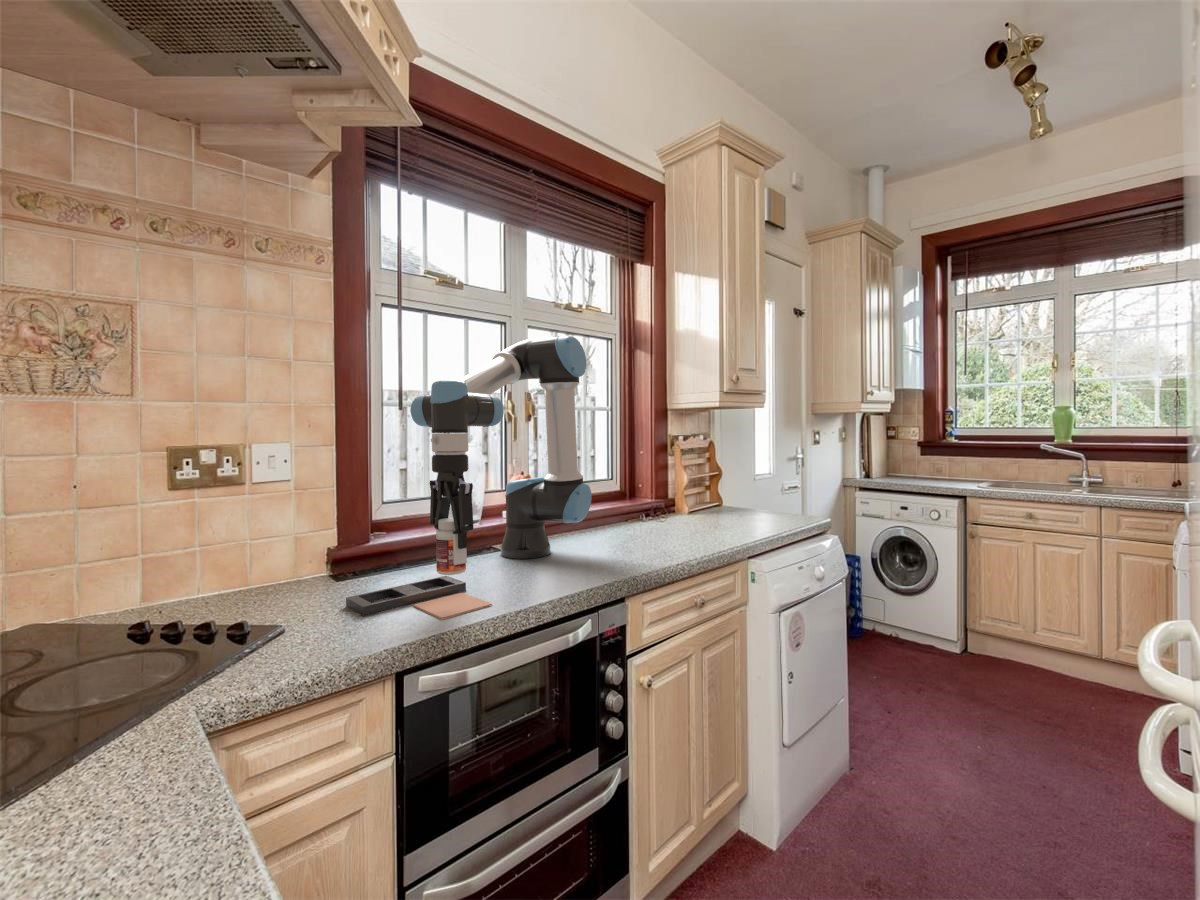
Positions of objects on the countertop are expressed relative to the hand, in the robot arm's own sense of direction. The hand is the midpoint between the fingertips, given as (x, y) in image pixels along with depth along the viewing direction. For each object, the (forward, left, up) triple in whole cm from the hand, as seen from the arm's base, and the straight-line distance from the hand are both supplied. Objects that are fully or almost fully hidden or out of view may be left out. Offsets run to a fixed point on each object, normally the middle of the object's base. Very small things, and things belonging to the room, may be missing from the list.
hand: (451, 560), depth 116 cm
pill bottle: (0, 0, -3) cm, 3 cm away
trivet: (0, 0, -10) cm, 10 cm away
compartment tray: (+4, -12, -10) cm, 16 cm away
